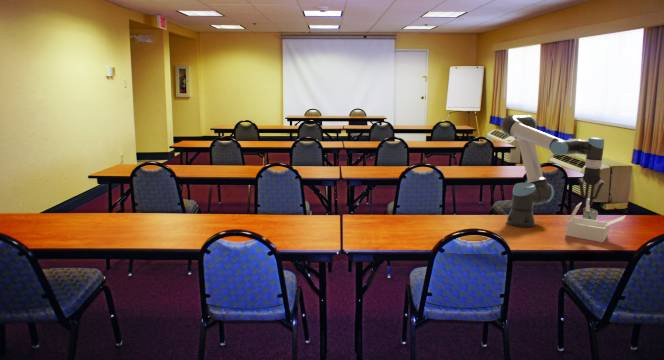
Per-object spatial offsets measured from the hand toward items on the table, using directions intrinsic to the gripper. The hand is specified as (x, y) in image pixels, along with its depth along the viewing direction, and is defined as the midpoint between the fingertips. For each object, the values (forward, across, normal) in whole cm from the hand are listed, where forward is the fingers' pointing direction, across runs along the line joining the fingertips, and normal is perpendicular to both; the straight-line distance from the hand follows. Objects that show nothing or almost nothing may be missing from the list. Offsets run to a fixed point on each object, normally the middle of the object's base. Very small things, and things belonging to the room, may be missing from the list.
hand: (587, 210), depth 272 cm
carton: (+14, +1, 0) cm, 14 cm away
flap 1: (+2, -6, 0) cm, 6 cm away
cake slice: (+14, -1, +20) cm, 24 cm away
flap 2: (+3, +14, 0) cm, 14 cm away
